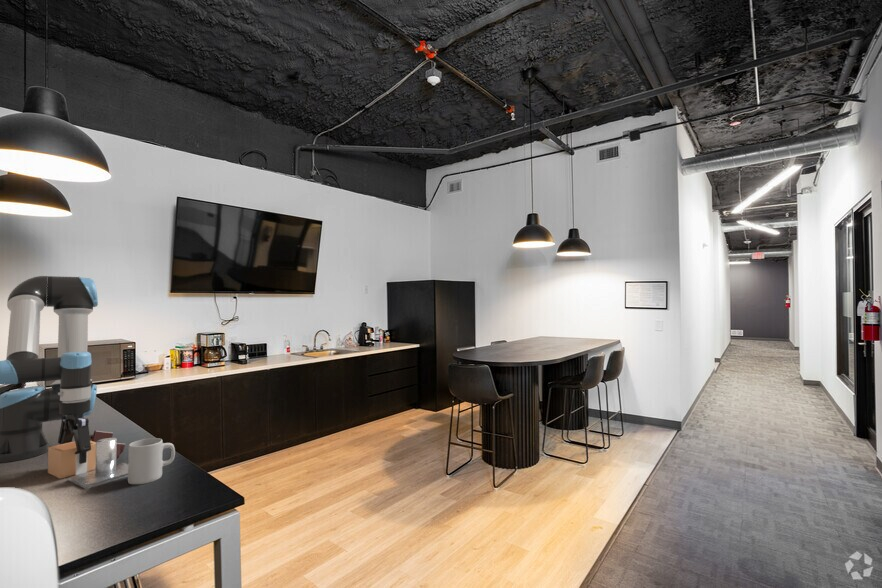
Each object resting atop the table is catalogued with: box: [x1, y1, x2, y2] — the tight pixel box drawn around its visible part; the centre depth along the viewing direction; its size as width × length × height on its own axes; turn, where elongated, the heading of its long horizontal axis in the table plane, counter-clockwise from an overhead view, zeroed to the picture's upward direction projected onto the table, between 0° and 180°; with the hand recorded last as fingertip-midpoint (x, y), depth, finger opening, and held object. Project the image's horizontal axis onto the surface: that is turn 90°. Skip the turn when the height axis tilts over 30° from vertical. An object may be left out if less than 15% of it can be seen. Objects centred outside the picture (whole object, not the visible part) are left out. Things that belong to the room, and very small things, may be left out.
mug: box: [127, 437, 176, 485], centre depth 129 cm, size 12×8×11 cm
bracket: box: [89, 430, 126, 460], centre depth 144 cm, size 6×17×10 cm, turn 77°
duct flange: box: [68, 437, 128, 490], centre depth 129 cm, size 12×14×11 cm
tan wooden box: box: [47, 440, 96, 479], centre depth 134 cm, size 10×10×8 cm
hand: (73, 469), depth 134 cm, fingers open, 11 cm apart
